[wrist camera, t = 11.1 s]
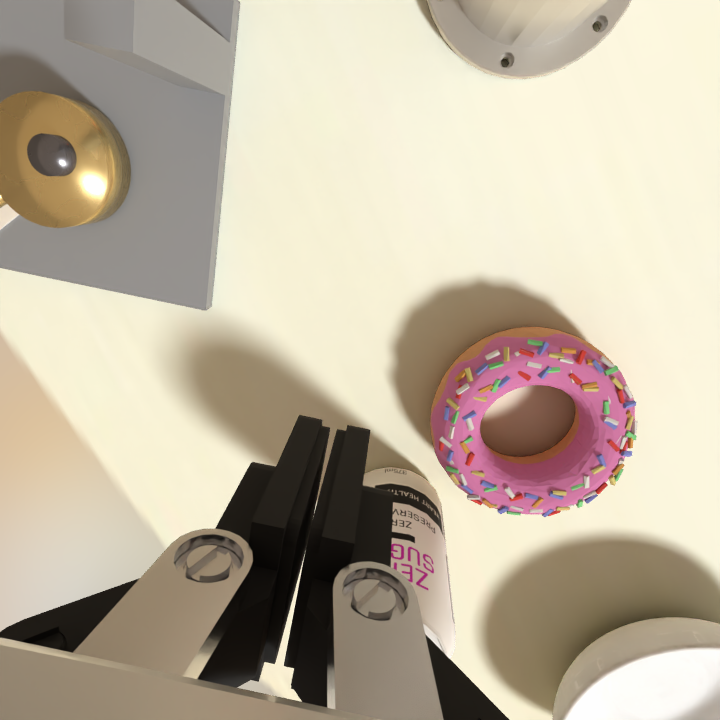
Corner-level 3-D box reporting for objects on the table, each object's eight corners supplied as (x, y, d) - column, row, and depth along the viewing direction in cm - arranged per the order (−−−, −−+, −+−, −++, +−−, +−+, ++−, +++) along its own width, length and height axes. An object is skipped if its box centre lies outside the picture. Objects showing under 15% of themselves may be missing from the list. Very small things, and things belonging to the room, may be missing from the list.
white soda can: (366, 555, 46) (348, 722, 32) (329, 478, 43) (293, 623, 29) (454, 530, 44) (477, 695, 30) (420, 450, 42) (428, 587, 28)
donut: (444, 498, 43) (449, 537, 39) (414, 339, 39) (415, 361, 34) (623, 474, 41) (651, 512, 37) (612, 303, 37) (642, 321, 32)
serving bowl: (827, 667, 46) (897, 748, 39) (645, 781, 52) (679, 866, 46) (659, 540, 43) (705, 604, 36) (489, 677, 49) (501, 752, 43)
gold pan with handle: (92, 77, 33) (51, 63, 29) (152, 198, 35) (121, 200, 32) (-99, 176, 36) (-159, 176, 33) (-33, 281, 39) (-82, 293, 35)
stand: (-21, -50, 33) (-281, -189, 20) (239, 2, 32) (138, -107, 20) (-4, 262, 40) (-192, 300, 27) (211, 306, 39) (122, 365, 27)
